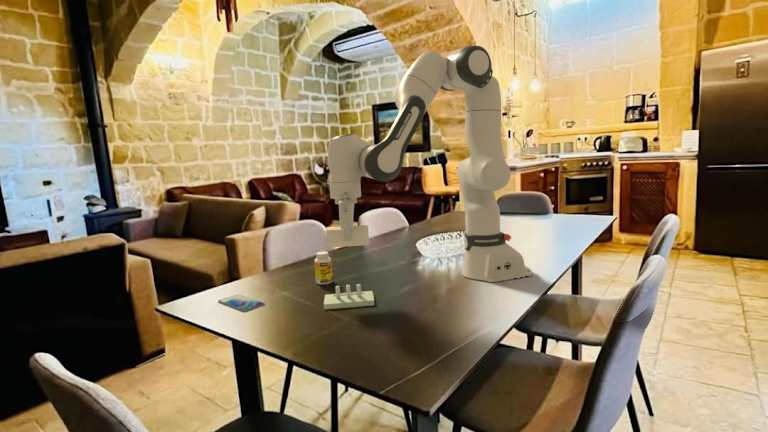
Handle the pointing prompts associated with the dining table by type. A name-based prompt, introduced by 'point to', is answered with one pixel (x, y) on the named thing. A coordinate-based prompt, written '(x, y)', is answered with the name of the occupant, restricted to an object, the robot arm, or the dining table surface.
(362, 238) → the block
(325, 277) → the supplement bottle
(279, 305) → the dining table surface
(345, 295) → the board
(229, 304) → the smartphone
